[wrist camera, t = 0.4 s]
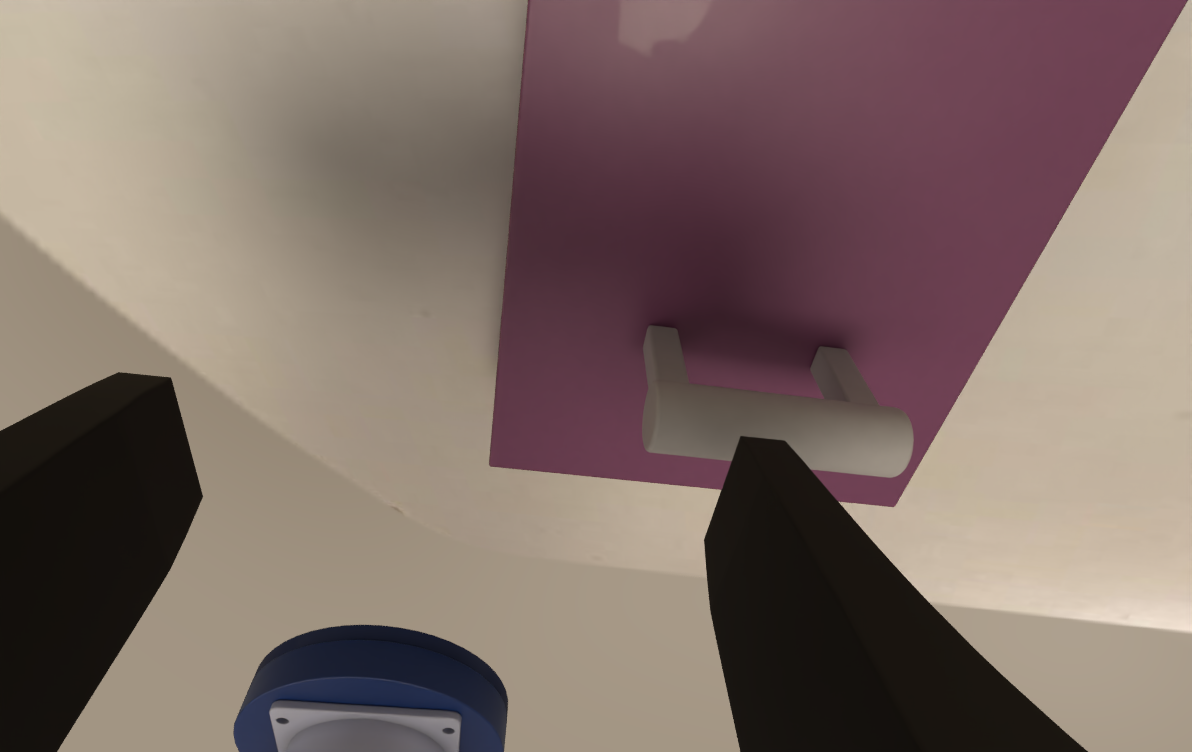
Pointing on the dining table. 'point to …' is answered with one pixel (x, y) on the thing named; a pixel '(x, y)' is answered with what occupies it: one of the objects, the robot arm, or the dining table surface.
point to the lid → (785, 221)
